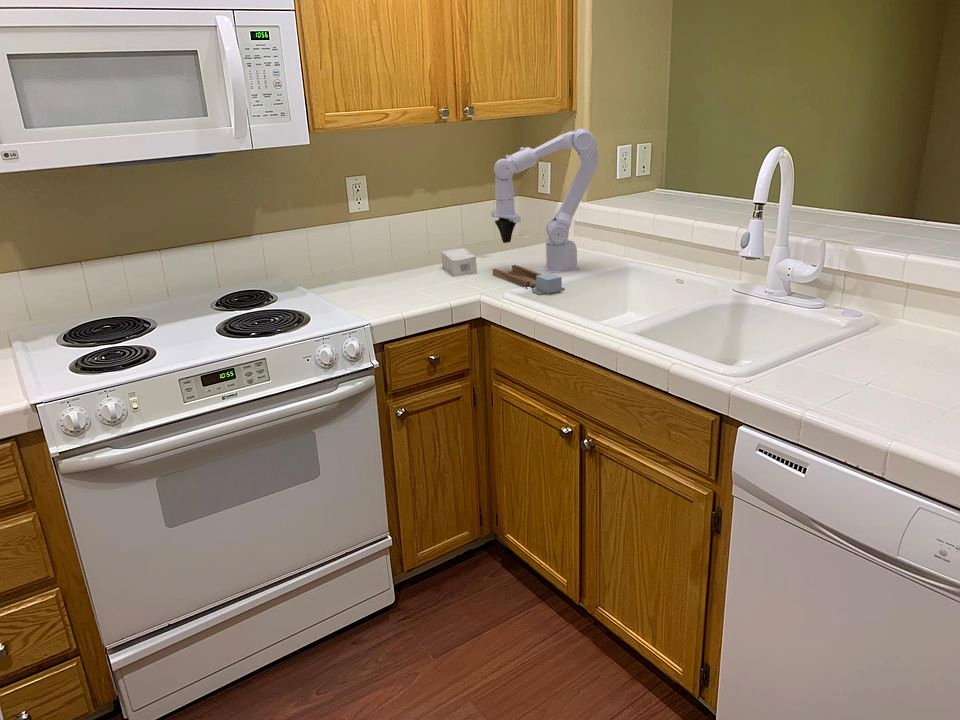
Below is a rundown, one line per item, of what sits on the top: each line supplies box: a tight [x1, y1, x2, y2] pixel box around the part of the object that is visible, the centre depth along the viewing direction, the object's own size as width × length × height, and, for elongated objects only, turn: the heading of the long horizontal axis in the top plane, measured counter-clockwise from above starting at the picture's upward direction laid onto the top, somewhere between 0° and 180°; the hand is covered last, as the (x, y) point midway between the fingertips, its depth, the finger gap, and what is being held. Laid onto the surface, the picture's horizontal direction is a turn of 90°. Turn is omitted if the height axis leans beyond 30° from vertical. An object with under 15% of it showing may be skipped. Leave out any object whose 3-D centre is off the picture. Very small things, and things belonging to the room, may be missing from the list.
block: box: [536, 272, 563, 294], centre depth 211 cm, size 5×6×4 cm
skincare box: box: [440, 247, 478, 277], centre depth 239 cm, size 8×6×15 cm
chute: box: [492, 264, 566, 296], centre depth 221 cm, size 9×27×2 cm, turn 29°
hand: (506, 242), depth 231 cm, fingers closed
